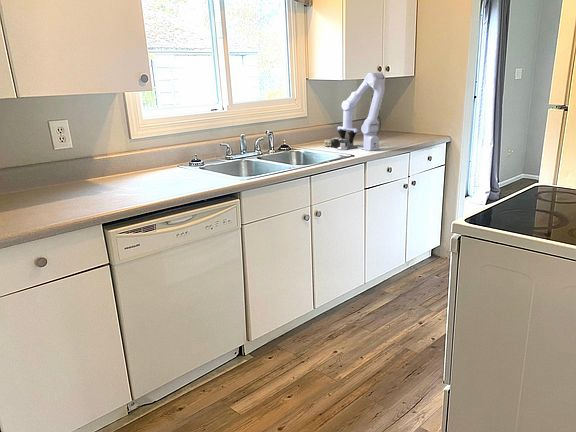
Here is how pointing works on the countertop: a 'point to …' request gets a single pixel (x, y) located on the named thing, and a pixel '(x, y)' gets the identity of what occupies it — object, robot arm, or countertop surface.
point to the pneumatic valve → (333, 142)
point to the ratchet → (346, 147)
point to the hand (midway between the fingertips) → (346, 142)
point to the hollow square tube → (347, 142)
